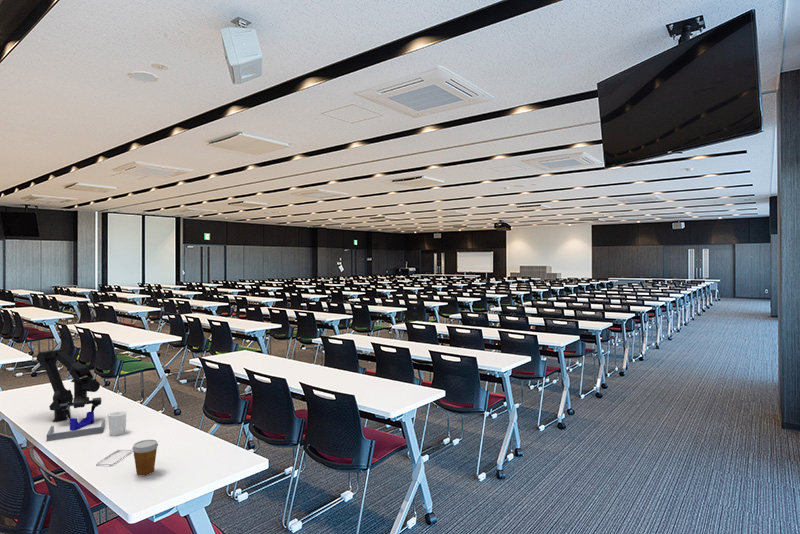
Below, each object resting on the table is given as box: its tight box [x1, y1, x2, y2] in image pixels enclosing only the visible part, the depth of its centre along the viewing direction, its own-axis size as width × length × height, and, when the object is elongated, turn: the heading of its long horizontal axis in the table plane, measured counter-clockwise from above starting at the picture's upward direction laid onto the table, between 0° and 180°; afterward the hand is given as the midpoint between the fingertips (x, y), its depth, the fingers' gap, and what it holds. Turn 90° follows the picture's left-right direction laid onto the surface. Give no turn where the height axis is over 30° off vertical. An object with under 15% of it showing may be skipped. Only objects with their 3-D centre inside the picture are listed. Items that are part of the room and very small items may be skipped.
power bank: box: [95, 449, 134, 467], centre depth 208 cm, size 7×1×15 cm
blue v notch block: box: [69, 411, 95, 431], centre depth 248 cm, size 12×4×6 cm, turn 169°
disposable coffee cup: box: [131, 439, 159, 476], centre depth 195 cm, size 10×10×12 cm
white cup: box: [107, 410, 127, 437], centre depth 238 cm, size 8×8×10 cm
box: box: [46, 418, 106, 442], centre depth 239 cm, size 14×23×3 cm, turn 119°
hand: (80, 419), depth 254 cm, fingers open, 9 cm apart
